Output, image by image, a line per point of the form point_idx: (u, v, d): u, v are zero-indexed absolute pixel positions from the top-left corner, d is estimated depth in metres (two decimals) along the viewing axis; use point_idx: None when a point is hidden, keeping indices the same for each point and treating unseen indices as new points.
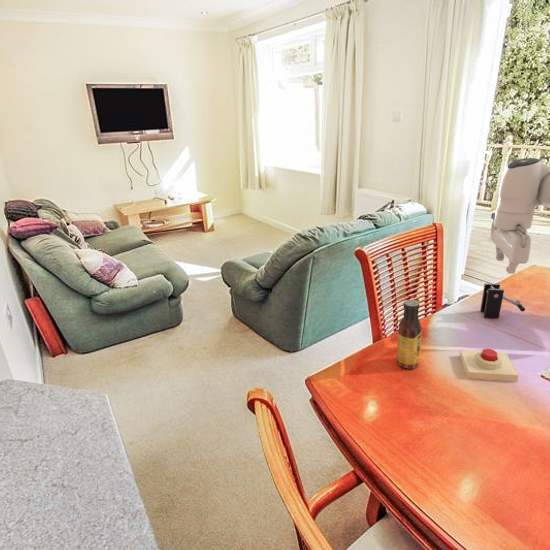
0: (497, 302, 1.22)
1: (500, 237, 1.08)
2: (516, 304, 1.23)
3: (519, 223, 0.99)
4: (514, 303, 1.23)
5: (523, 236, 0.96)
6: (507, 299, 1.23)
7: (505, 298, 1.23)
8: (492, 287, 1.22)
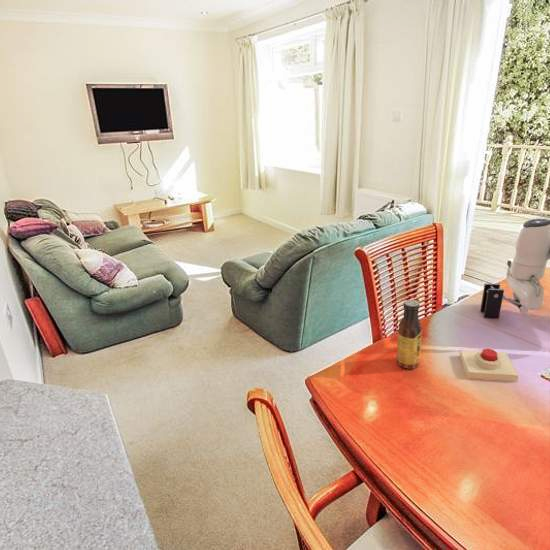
0: (497, 302, 1.22)
1: (515, 283, 1.22)
2: (516, 304, 1.23)
3: (533, 274, 1.14)
4: (514, 303, 1.23)
5: (537, 287, 1.10)
6: (507, 299, 1.23)
7: (505, 298, 1.23)
8: (492, 287, 1.22)
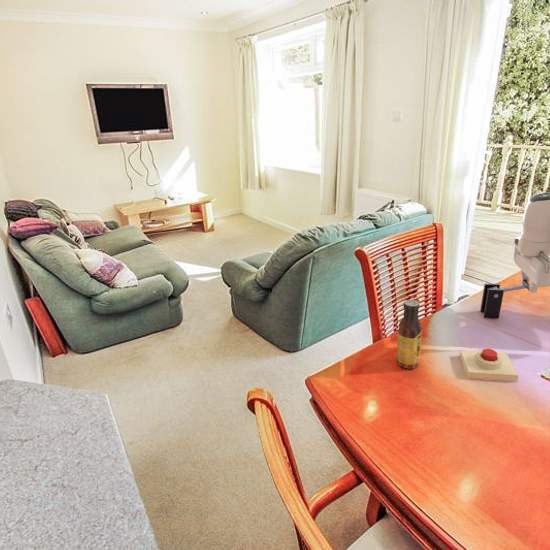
0: (497, 302, 1.22)
1: (523, 261, 1.19)
2: (523, 287, 1.20)
3: (542, 250, 1.11)
4: (520, 287, 1.20)
5: (546, 263, 1.07)
6: (511, 289, 1.21)
7: (508, 289, 1.21)
8: None
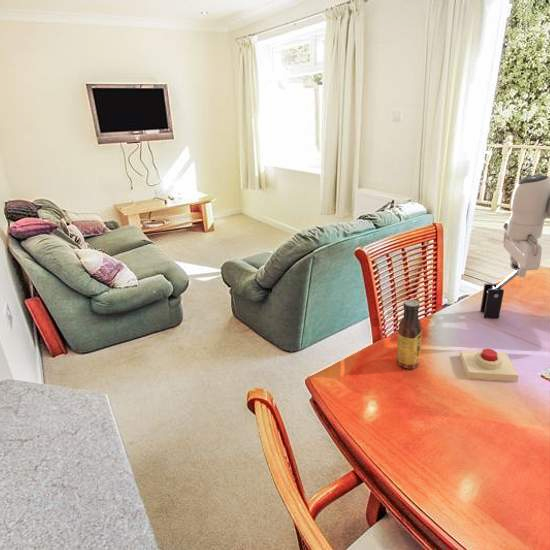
0: (497, 302, 1.22)
1: (512, 245, 1.18)
2: (515, 274, 1.19)
3: (530, 233, 1.09)
4: (513, 276, 1.19)
5: (534, 245, 1.06)
6: (506, 281, 1.20)
7: (504, 283, 1.21)
8: (487, 292, 1.23)
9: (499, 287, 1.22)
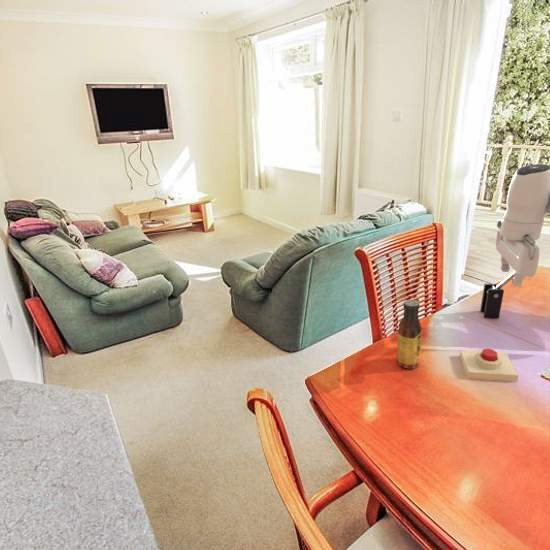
0: (497, 302, 1.22)
1: (506, 247, 1.02)
2: (515, 274, 1.19)
3: (527, 233, 0.93)
4: (513, 275, 1.19)
5: (531, 247, 0.90)
6: (506, 281, 1.20)
7: (504, 283, 1.21)
8: (487, 292, 1.23)
9: (499, 287, 1.22)
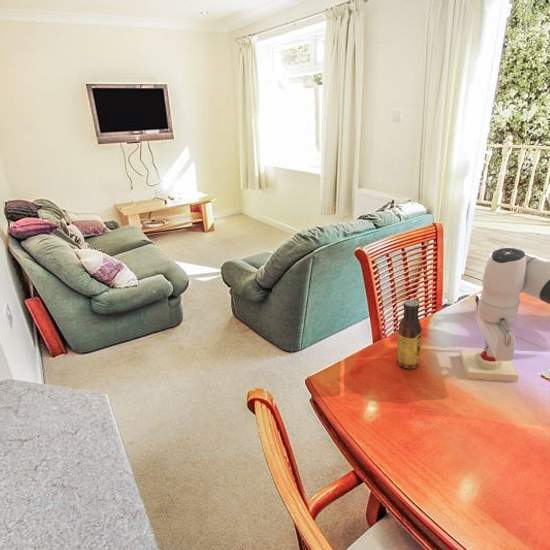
0: None
1: (484, 324, 1.01)
2: None
3: (503, 317, 0.93)
4: None
5: (507, 335, 0.89)
6: None
7: None
8: None
9: None
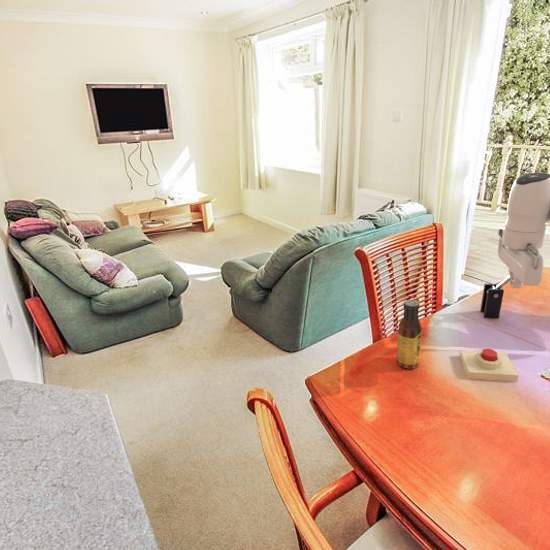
0: (497, 302, 1.22)
1: (509, 256, 1.01)
2: None
3: (530, 242, 0.93)
4: None
5: (535, 257, 0.89)
6: (506, 281, 1.20)
7: (504, 283, 1.21)
8: (487, 292, 1.23)
9: (499, 287, 1.22)
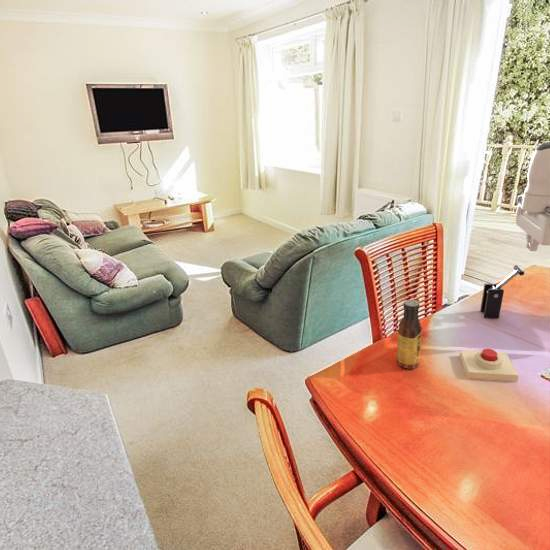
0: (497, 302, 1.22)
1: (527, 221, 1.08)
2: (515, 274, 1.19)
3: (548, 205, 1.00)
4: (513, 275, 1.19)
5: None
6: (506, 281, 1.20)
7: (504, 283, 1.21)
8: (487, 292, 1.23)
9: (499, 287, 1.22)
